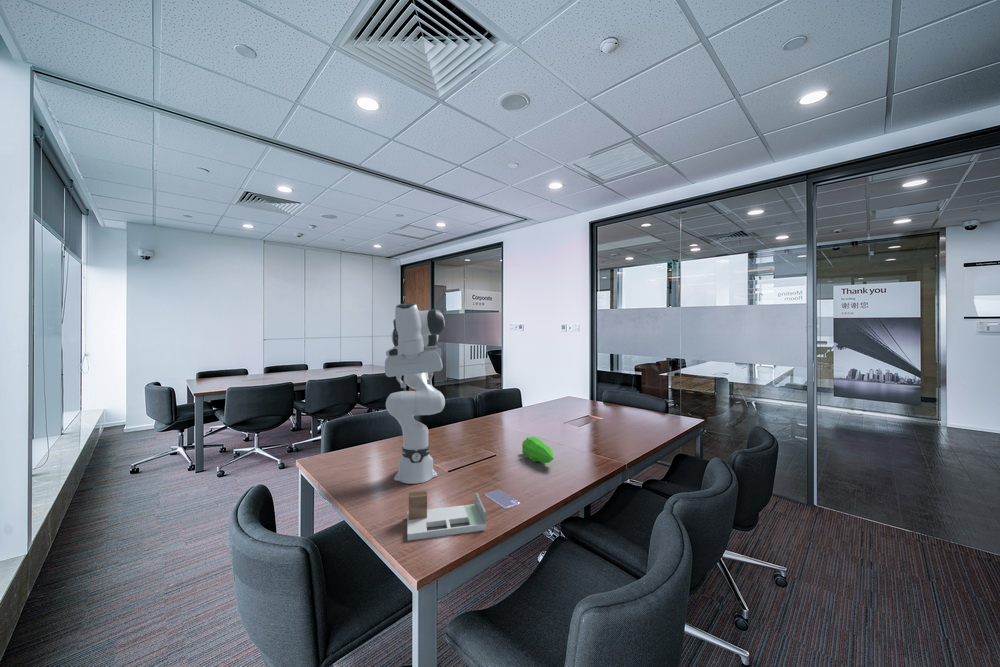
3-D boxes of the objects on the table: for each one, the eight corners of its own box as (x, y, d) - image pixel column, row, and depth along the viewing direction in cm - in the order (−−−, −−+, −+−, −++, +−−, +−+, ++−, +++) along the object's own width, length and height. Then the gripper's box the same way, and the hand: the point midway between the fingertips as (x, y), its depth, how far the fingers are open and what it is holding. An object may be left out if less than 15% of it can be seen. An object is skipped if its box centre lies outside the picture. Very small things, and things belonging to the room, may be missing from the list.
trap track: (407, 517, 130) (407, 500, 130) (477, 509, 136) (477, 492, 136) (407, 540, 115) (407, 521, 115) (486, 530, 121) (485, 511, 121)
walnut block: (408, 513, 129) (408, 491, 129) (426, 511, 130) (426, 489, 130) (408, 520, 124) (408, 497, 124) (427, 517, 126) (427, 495, 126)
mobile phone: (499, 488, 153) (521, 501, 140) (499, 490, 153) (521, 504, 140) (483, 492, 149) (505, 507, 136) (483, 495, 149) (505, 509, 136)
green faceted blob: (530, 429, 202) (558, 442, 174) (538, 448, 203) (567, 464, 175) (513, 439, 198) (539, 454, 170) (520, 458, 199) (547, 476, 171)
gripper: (441, 343, 137) (445, 380, 138) (385, 350, 135) (390, 387, 136) (439, 345, 130) (444, 384, 131) (381, 352, 129) (386, 391, 130)
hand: (416, 385), depth 134 cm, fingers open, 8 cm apart
